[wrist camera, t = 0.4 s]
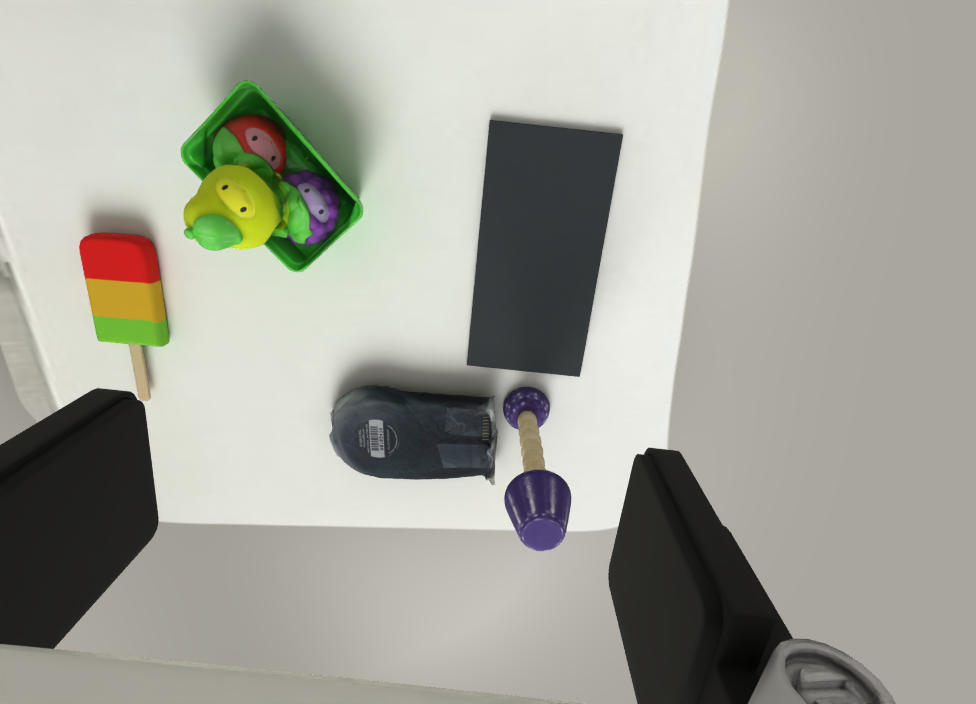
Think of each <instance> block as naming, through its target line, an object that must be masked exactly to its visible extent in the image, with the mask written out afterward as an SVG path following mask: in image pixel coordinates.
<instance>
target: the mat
mask: <svg viewBox="0 0 976 704" xmlns="http://www.w3.org/2000/svg"><path fill="white" fill-rule="evenodd" d="M622 138H623V135H622V134H613V133H604V132H595V131H586V130H576V129H567V128H558V127H549V126H540V125H530V124H521V123H512V122H503V121H494V120H490V125H489V135H488V146H487V157H486V167H485V178H484V189H483V199H482V210H481V221H480V231H479V242H478V253H477V263H476V274H475V285H474V295H473V306H472V317H471V327H470V338H469V349H468V359H467V365H470V366H480V367H490V368H499V369H509V370H519V371H528V372H538V373H548V374H558V375H567V376H577V377H580V372H581V366H582V361H583V355H584V350H585V344H586V338H587V333H588V327H589V322H590V316H591V311H592V305H593V299H594V294H595V288H596V283H597V277H598V272H599V266H600V260H601V255H602V249H603V244H604V238H605V232H606V227H607V221H608V216H609V210H610V205H611V199H612V193H613V188H614V182H615V177H616V171H617V166H618V160H619V154H620V149H621V143H622Z"/></svg>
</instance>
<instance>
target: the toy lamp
mask: <svg viewBox="0 0 976 704" xmlns="http://www.w3.org/2000/svg"><path fill="white" fill-rule="evenodd" d="M549 411H550V405H549V401H548V399H547V397H546V396H545V395H544V394H543V393H542V392H541V391H539V390H537V389H535V388H531V387H522V388H519V389H517V390H514V391H513V392H512V393H510V394H509V395H508V396H507V398H506V399H505V402H504V405H503V412H504V416H505V418H506V420H507V421H508V423H509V424H510V425H511V426H512V427H514V428H516V429H518V430H519V435H520V445H521V447H522V448H521V454H522V457H523V467H524V473H522V474H520V475H518V476H517V477H515V478H514V479H513V480H512V481H511V482H510V484H509V485H508V487H507V489H506V492H505V499H504V500H505V507H506V510H507V512H508V514H509V517H510V519H511V521H512V523H513V525H514V527H515V530H516V532H517V534H518V536H519V538H520V540H521V541H522V542H523V543H524V544H525V545H526V546H527V547H529V548H531V549H533V550H536V551H547V550H551V549H553V548H555V547H557V546H558V545H559V544H560V543H561V542H562V540H563V539H564V537H565V533H566V529H567V524H568V518H569V512H570V506H571V492H570V489H569V487H568V484H567V483H566V482H565V481H564V479H562V478H561V477H560V476H559V475H557V474H555V473H553V472H550V471H547V470H546V469H545V461H544V458H543V448H542V446H541V438H540V436H539V427H541V426H542V425H543V424H544V423H545V421H546V420H547V418H548V415H549Z"/></svg>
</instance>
